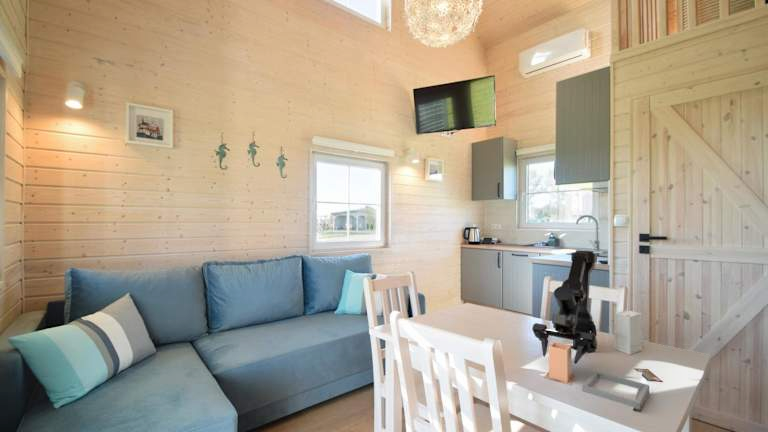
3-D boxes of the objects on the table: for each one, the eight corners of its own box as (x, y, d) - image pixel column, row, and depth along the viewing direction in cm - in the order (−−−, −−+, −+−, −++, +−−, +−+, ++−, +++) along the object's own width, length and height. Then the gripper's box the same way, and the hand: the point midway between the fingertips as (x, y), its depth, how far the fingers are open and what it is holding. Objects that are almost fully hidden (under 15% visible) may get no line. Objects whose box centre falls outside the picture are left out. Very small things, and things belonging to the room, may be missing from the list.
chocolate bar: (665, 384, 111) (665, 382, 111) (648, 383, 112) (648, 381, 112) (647, 369, 122) (647, 367, 122) (631, 368, 123) (631, 366, 123)
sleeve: (549, 377, 114) (548, 346, 114) (553, 371, 118) (553, 341, 118) (567, 382, 110) (567, 350, 110) (571, 376, 114) (571, 345, 114)
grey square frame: (582, 394, 105) (582, 386, 105) (595, 378, 115) (595, 370, 115) (639, 412, 95) (639, 403, 95) (649, 393, 105) (649, 385, 105)
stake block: (543, 380, 114) (543, 365, 114) (550, 372, 120) (550, 357, 120) (571, 388, 109) (570, 372, 109) (577, 379, 115) (576, 363, 115)
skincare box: (626, 346, 142) (626, 309, 142) (643, 351, 137) (642, 312, 137) (614, 350, 139) (613, 312, 139) (630, 355, 133) (629, 315, 133)
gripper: (533, 299, 123) (523, 340, 115) (595, 308, 111) (588, 354, 103) (540, 317, 129) (531, 356, 121) (600, 327, 117) (593, 371, 109)
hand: (559, 359), depth 113 cm, fingers open, 9 cm apart
